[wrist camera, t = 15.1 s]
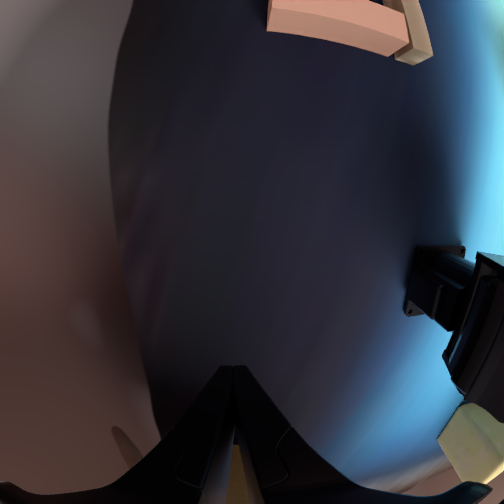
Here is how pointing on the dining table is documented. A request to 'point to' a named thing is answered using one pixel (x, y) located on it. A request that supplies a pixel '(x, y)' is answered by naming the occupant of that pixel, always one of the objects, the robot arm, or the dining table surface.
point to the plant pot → (237, 480)
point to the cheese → (474, 444)
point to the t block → (341, 22)
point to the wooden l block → (412, 32)
